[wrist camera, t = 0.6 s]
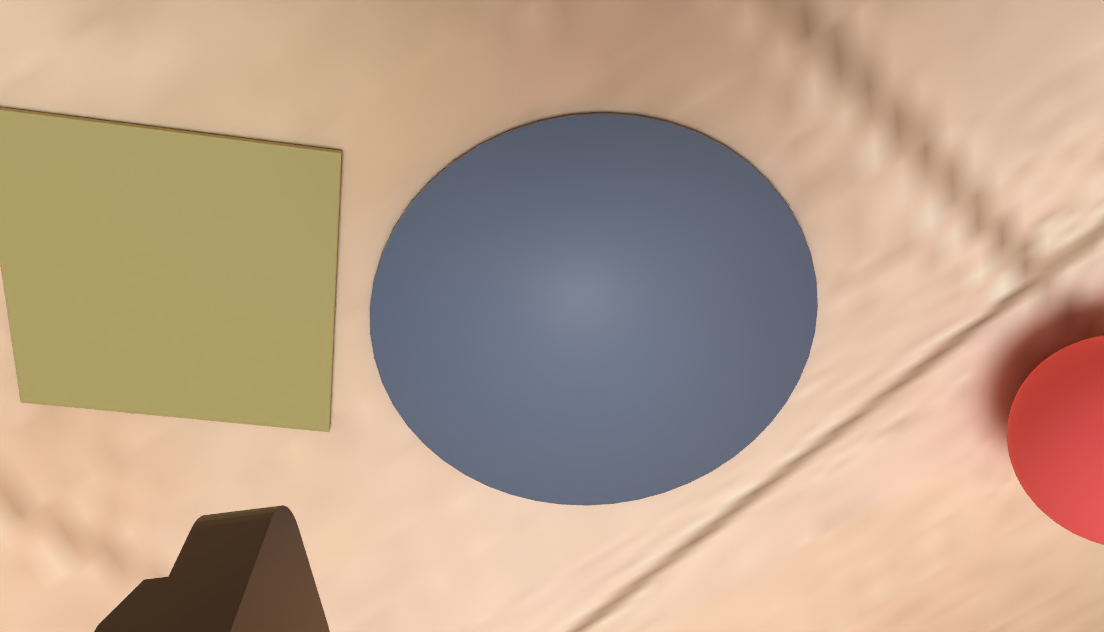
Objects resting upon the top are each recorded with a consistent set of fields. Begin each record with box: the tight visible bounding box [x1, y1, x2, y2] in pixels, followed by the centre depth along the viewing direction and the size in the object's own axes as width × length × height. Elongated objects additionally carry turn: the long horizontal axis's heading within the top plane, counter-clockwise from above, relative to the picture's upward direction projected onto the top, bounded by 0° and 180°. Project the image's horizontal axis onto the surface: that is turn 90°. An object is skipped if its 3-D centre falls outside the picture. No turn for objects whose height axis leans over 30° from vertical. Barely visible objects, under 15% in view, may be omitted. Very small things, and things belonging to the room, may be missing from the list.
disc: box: [370, 113, 818, 505], centre depth 28 cm, size 13×13×1 cm
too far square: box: [0, 107, 342, 432], centre depth 26 cm, size 9×9×1 cm
